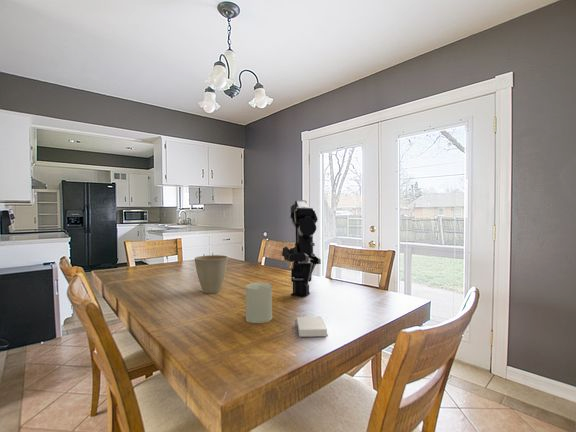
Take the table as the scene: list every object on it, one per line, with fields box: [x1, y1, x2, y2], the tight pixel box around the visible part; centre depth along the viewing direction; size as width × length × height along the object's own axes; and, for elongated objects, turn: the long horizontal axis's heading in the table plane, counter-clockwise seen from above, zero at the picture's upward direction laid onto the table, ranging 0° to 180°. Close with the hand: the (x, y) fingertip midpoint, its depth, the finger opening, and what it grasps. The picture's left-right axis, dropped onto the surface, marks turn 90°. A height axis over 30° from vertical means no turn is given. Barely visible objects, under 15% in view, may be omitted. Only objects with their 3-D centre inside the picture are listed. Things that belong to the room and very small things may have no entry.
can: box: [245, 282, 273, 324], centre depth 100 cm, size 9×9×12 cm
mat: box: [294, 319, 329, 338], centre depth 91 cm, size 13×9×1 cm
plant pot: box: [194, 254, 229, 295], centre depth 134 cm, size 15×15×16 cm
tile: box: [296, 316, 328, 338], centre depth 89 cm, size 2×8×10 cm
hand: (306, 283), depth 104 cm, fingers closed
